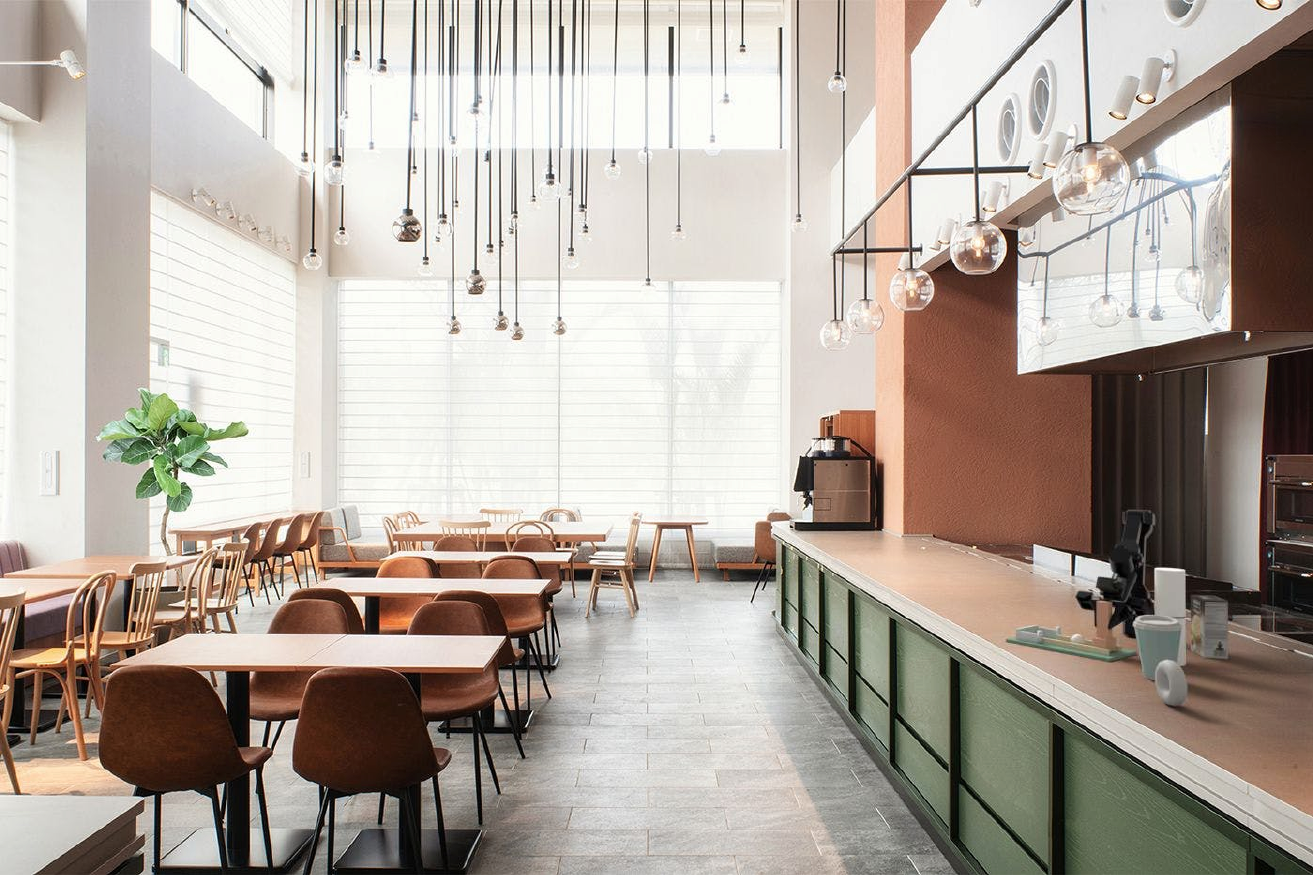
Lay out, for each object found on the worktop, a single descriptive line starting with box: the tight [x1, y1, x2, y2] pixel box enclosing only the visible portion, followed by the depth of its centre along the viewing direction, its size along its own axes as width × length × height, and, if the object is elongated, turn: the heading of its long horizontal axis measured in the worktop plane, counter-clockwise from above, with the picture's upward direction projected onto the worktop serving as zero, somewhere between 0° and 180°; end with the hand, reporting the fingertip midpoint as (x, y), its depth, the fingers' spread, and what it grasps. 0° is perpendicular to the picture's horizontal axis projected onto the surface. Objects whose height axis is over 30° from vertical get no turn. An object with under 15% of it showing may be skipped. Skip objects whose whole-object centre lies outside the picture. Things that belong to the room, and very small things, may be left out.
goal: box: [1015, 624, 1062, 644], centre depth 253 cm, size 12×8×4 cm
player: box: [1092, 601, 1117, 652], centre depth 238 cm, size 6×4×14 cm, turn 127°
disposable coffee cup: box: [1133, 615, 1182, 681], centre depth 212 cm, size 11×11×15 cm
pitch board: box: [1005, 634, 1138, 663], centre depth 245 cm, size 16×30×2 cm, turn 37°
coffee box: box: [1190, 594, 1229, 660], centre depth 238 cm, size 9×6×16 cm
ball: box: [1071, 633, 1085, 645], centre depth 244 cm, size 4×4×4 cm
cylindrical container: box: [1154, 567, 1187, 667], centre depth 229 cm, size 7×7×25 cm
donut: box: [1154, 660, 1188, 707], centre depth 189 cm, size 10×4×10 cm, turn 174°
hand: (1102, 627), depth 237 cm, fingers closed on player, 3 cm apart
